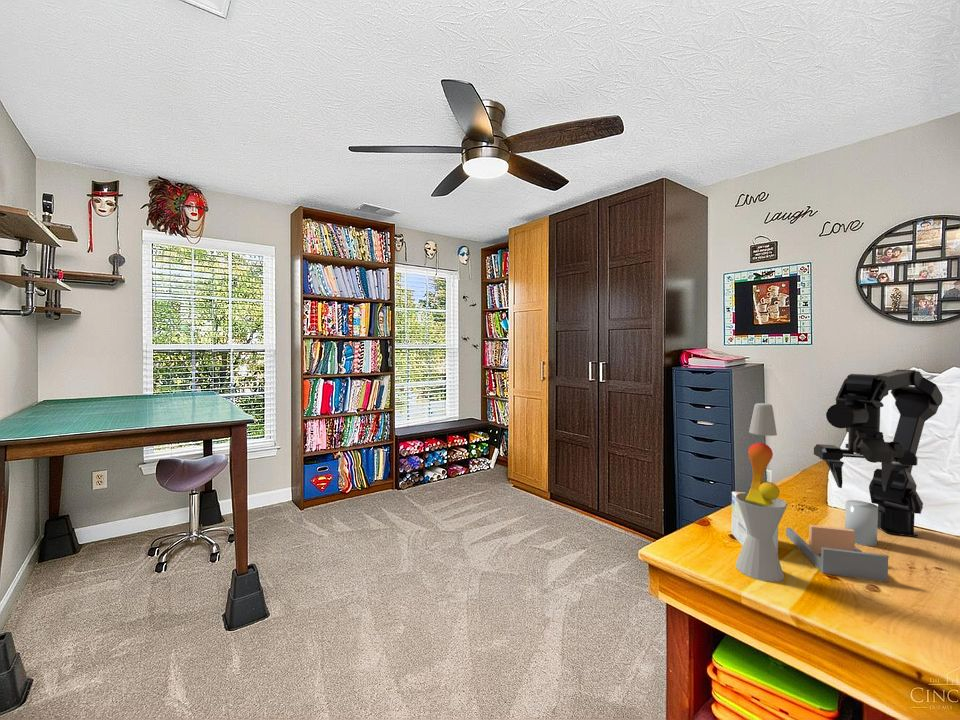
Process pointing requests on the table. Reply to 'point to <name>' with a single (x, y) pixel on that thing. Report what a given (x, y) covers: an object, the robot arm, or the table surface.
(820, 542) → the plate
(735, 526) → the light bulb box
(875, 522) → the jar
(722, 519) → the table surface
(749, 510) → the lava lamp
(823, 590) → the table surface
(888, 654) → the table surface
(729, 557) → the table surface
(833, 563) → the pusher lane
